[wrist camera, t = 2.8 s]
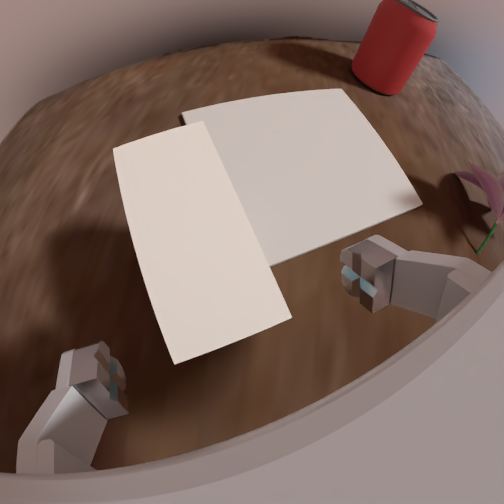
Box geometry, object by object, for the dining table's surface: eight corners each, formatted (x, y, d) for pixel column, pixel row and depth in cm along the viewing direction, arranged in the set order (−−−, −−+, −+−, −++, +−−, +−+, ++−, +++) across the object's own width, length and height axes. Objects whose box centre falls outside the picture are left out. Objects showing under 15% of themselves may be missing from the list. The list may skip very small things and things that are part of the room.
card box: (198, 354, 15) (174, 365, 6) (160, 252, 17) (112, 148, 8) (246, 335, 16) (293, 317, 7) (206, 235, 18) (203, 120, 8)
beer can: (345, 58, 28) (378, -17, 16) (390, 74, 28) (429, 8, 17) (354, 86, 25) (397, 1, 14) (403, 105, 26) (453, 32, 15)
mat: (248, 275, 17) (249, 273, 17) (182, 116, 21) (181, 112, 20) (420, 206, 21) (422, 204, 21) (339, 91, 25) (341, 88, 24)
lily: (509, 261, 23) (549, 198, 17) (514, 311, 15) (577, 224, 9) (439, 200, 28) (473, 133, 22) (419, 225, 21) (471, 126, 15)
